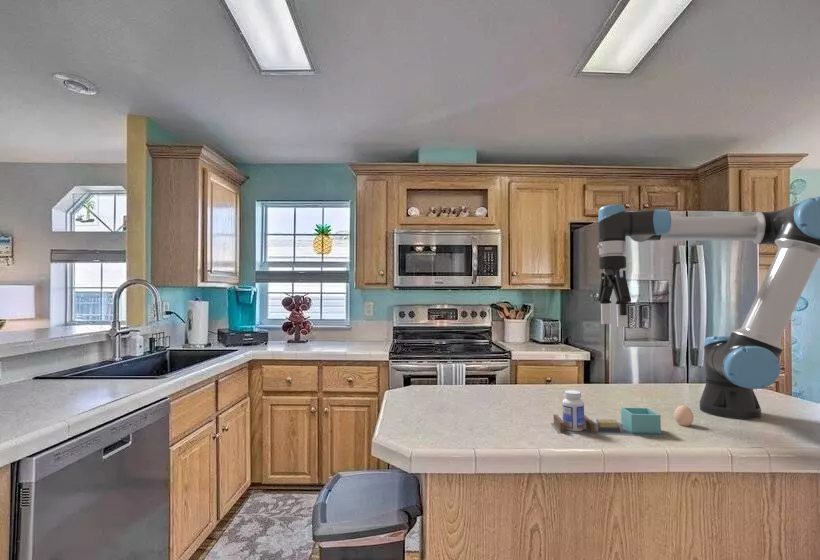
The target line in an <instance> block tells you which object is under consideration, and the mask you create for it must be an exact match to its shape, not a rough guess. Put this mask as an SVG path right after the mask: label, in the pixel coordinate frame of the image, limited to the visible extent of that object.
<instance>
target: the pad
mask: <svg viewBox="0 0 820 560" xmlns="http://www.w3.org/2000/svg"><path fill="white" fill-rule="evenodd" d="M595 420H596V421H597V422H598V426H599V427H615V428H617V422H616V421H615V419H605V418H602V419H599V418H598V419H597V418H596V419H595Z"/></svg>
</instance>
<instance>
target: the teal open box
mask: <svg viewBox="0 0 820 560" xmlns="http://www.w3.org/2000/svg"><path fill="white" fill-rule="evenodd" d="M620 418H621V419H620V422H622V423H623V428H625V429H626V430H627V431H628V432H630V433H631V434H641V435H661V434H662V429H661V428H662V426H661V425H662V424H661V423H662V422H661V420H662V419H661V414H659V413H658V412H656V411H654V410H652V409H650V408H648V407H623V406H622V407H620Z"/></svg>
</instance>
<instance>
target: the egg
mask: <svg viewBox="0 0 820 560" xmlns="http://www.w3.org/2000/svg"><path fill="white" fill-rule="evenodd" d="M673 416H674V421H676V423H677V424H678V425H679V426H684V427H689V426H691V425H692V424H693V422H694V414H693V411H692V410H691V408H689V406H687V405H684V404H682V405H678V406H677V407H676V409H675V410H674V414H673Z"/></svg>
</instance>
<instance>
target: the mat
mask: <svg viewBox="0 0 820 560" xmlns="http://www.w3.org/2000/svg"><path fill="white" fill-rule="evenodd" d="M550 424H551V426H552V428H553V429H554V430H555V431H556V433H557V434H562V435H563V434H567V435H595V436H596V435H597V436H599V435H601V436H630V437H631V436H632V437H633V436H634V437H636V436H637V437H638V436H639V437H662V438H664V437H666V436H665V435H663V434H662V433H661V435H641V434H631V433H630V432H628V431H627V430H626V429H625V428H623V432H607V431H595V434H591V433H590V432H589V431H588V430H587V429H586V428H584V430H582V431H570V430H566V429H565V433H560V431H559V430H558V429H557V427H556V426H555V425H554V422H550Z"/></svg>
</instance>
